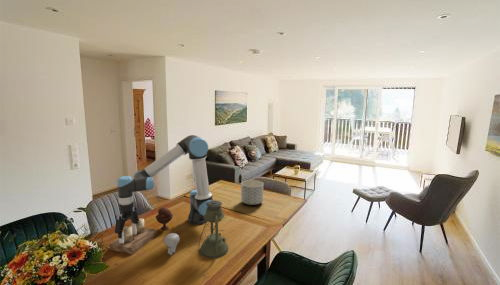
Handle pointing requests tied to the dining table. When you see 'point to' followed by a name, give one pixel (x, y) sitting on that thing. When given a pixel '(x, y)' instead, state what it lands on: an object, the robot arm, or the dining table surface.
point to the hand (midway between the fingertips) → (128, 237)
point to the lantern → (214, 242)
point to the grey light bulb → (171, 242)
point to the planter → (252, 192)
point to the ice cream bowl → (164, 217)
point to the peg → (128, 234)
